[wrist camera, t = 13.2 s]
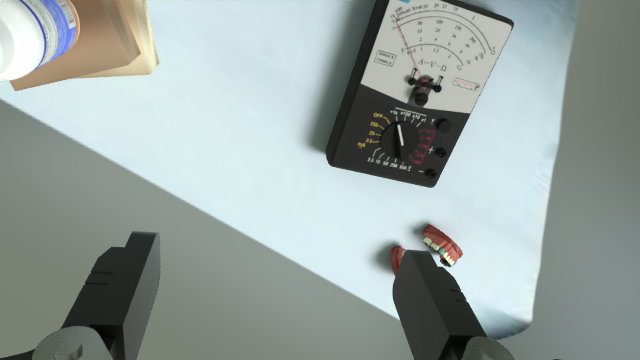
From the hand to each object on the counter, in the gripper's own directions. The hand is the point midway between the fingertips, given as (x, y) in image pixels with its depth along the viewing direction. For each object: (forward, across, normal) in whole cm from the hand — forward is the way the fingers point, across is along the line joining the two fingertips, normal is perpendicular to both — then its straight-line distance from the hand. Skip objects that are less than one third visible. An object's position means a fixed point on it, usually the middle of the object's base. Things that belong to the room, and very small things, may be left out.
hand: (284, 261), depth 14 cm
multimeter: (+32, -15, +2) cm, 36 cm away
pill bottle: (+24, +17, -1) cm, 29 cm away
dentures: (+32, -23, +24) cm, 46 cm away
